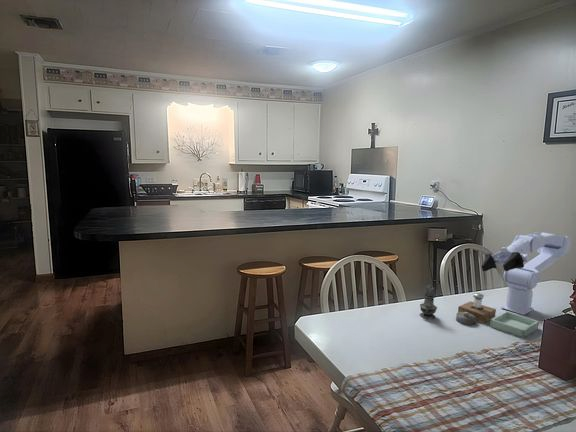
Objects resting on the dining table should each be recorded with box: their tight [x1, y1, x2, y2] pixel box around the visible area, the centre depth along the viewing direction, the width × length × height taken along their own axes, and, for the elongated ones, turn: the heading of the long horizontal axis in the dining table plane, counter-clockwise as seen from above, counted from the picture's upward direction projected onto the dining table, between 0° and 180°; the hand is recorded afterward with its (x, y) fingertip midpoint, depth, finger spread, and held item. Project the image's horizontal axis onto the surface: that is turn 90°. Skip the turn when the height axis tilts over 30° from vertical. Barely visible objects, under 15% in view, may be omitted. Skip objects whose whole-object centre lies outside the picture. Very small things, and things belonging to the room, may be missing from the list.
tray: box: [489, 310, 540, 339], centre depth 124 cm, size 12×10×2 cm
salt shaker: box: [419, 283, 438, 320], centre depth 131 cm, size 6×6×12 cm
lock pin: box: [472, 292, 485, 311], centre depth 133 cm, size 3×3×8 cm
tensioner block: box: [455, 300, 497, 326], centre depth 131 cm, size 15×9×3 cm, turn 128°
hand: (493, 268), depth 126 cm, fingers open, 7 cm apart
